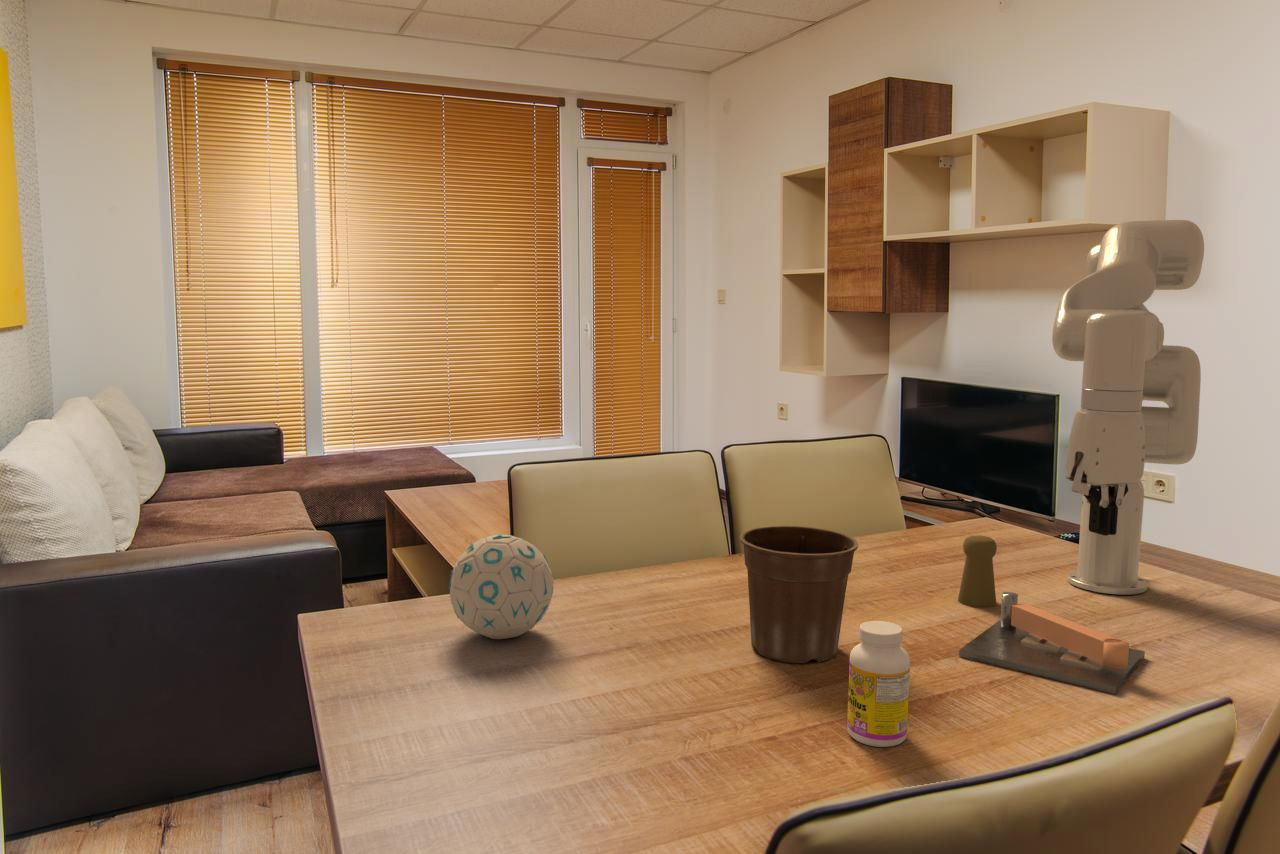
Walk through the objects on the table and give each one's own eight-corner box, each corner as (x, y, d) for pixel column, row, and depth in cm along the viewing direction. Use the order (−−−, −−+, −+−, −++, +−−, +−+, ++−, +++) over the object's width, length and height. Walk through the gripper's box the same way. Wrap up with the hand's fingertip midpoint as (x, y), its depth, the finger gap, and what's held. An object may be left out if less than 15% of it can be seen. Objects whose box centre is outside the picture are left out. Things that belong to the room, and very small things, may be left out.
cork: (999, 608, 153) (1003, 542, 151) (960, 606, 154) (963, 540, 153) (993, 597, 159) (996, 533, 157) (955, 595, 160) (958, 531, 158)
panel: (998, 626, 144) (1000, 588, 144) (1144, 658, 132) (1147, 616, 131) (959, 656, 132) (961, 615, 131) (1115, 694, 119) (1118, 648, 119)
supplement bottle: (839, 724, 111) (843, 617, 109) (894, 722, 111) (899, 616, 110) (857, 750, 104) (861, 638, 103) (915, 748, 105) (920, 636, 103)
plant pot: (860, 636, 140) (864, 530, 138) (846, 677, 125) (850, 558, 123) (751, 624, 145) (753, 521, 143) (726, 661, 130) (728, 547, 128)
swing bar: (1009, 625, 139) (1010, 605, 139) (1025, 622, 140) (1026, 603, 140) (1115, 670, 122) (1117, 647, 122) (1132, 667, 123) (1134, 644, 123)
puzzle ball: (430, 635, 140) (427, 536, 138) (509, 611, 150) (508, 519, 149) (494, 662, 129) (492, 555, 127) (575, 634, 140) (574, 535, 138)
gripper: (1129, 398, 136) (1120, 523, 139) (1047, 401, 131) (1039, 531, 133) (1175, 403, 129) (1165, 534, 132) (1090, 407, 124) (1081, 544, 126)
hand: (1102, 532), depth 132 cm, fingers closed
